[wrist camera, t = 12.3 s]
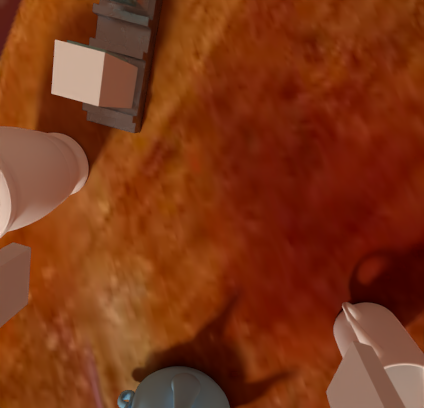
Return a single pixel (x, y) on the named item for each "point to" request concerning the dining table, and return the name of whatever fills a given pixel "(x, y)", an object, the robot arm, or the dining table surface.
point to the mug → (384, 347)
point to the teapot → (175, 390)
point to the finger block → (92, 75)
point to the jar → (36, 174)
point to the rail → (126, 54)
